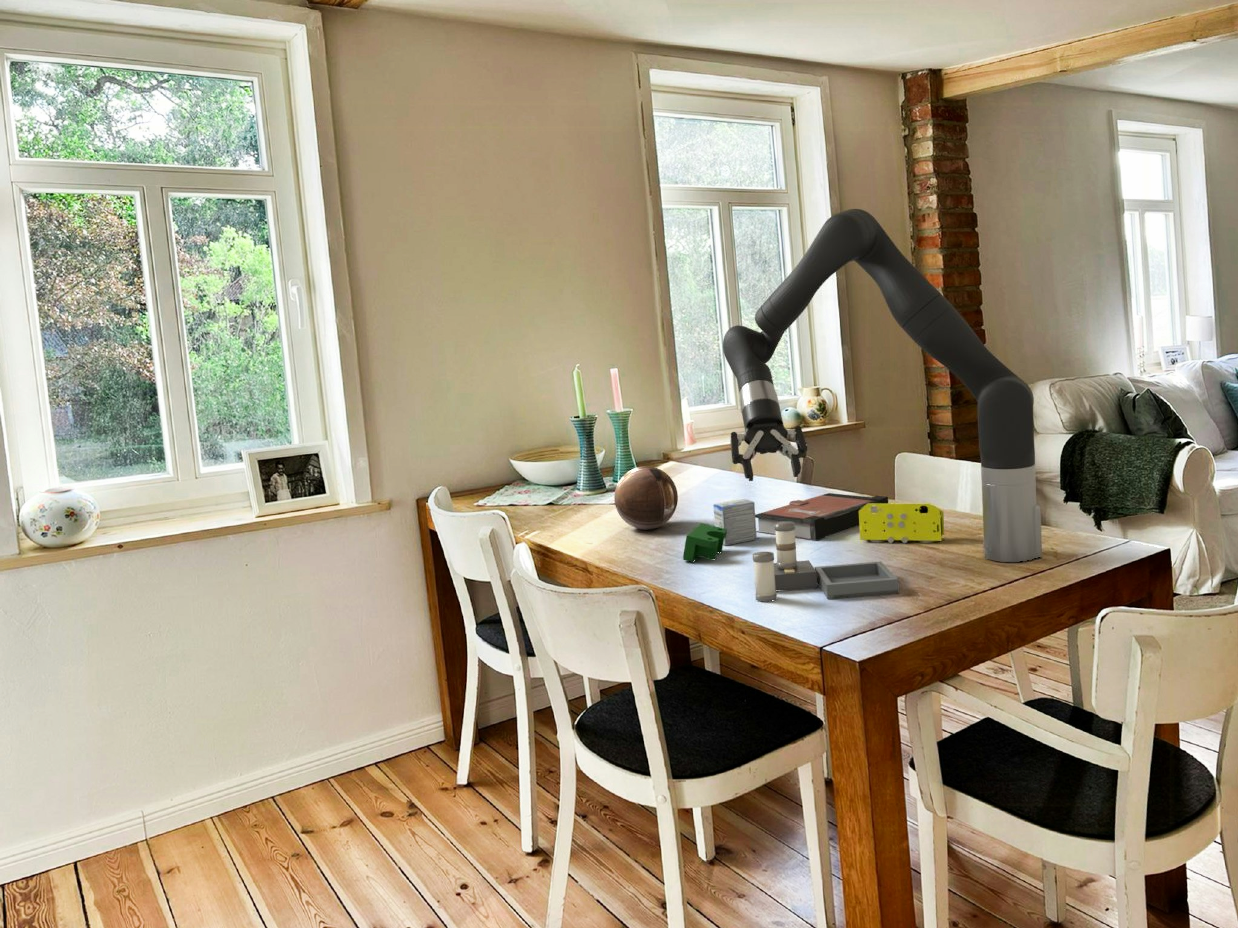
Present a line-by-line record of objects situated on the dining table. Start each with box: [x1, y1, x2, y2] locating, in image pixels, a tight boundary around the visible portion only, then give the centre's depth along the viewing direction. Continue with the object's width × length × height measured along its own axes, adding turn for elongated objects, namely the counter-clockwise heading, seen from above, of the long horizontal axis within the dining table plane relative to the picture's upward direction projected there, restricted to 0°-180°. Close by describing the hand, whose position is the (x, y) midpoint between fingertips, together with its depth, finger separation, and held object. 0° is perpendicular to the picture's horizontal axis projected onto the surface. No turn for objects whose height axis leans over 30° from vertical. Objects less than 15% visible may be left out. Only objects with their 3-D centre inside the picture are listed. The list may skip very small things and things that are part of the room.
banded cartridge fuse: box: [774, 521, 798, 570], centre depth 177 cm, size 4×4×8 cm
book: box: [755, 492, 889, 542], centre depth 222 cm, size 26×18×5 cm
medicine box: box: [713, 498, 758, 547], centre depth 213 cm, size 8×4×9 cm, turn 111°
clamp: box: [682, 522, 727, 563], centre depth 203 cm, size 12×6×9 cm
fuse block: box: [774, 559, 818, 591], centre depth 178 cm, size 9×8×3 cm
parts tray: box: [813, 561, 900, 600], centre depth 173 cm, size 12×12×2 cm
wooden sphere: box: [613, 465, 679, 531], centre depth 233 cm, size 15×15×15 cm
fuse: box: [752, 551, 778, 602], centre depth 170 cm, size 4×4×8 cm
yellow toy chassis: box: [858, 502, 945, 544], centre depth 201 cm, size 16×6×8 cm, turn 65°
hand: (773, 476), depth 186 cm, fingers open, 8 cm apart
